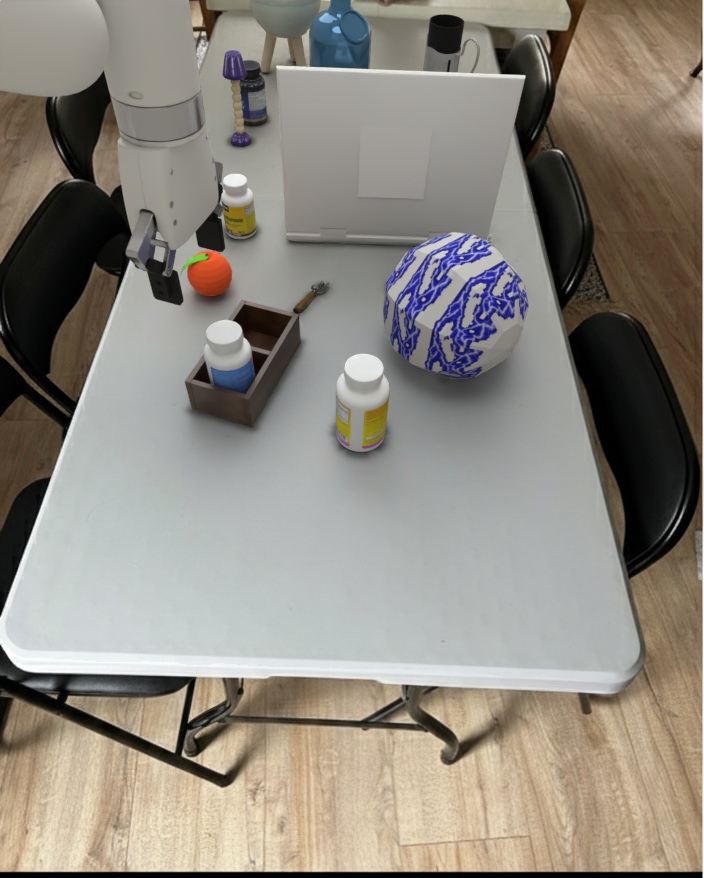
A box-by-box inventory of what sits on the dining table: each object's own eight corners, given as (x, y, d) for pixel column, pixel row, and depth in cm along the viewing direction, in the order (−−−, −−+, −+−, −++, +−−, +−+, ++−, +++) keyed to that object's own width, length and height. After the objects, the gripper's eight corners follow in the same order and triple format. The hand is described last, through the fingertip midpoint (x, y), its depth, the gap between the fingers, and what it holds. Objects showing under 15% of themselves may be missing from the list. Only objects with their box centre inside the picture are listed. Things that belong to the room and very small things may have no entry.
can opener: (298, 315, 97) (297, 310, 96) (286, 309, 98) (286, 303, 97) (333, 286, 102) (333, 281, 101) (321, 281, 102) (321, 275, 101)
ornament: (446, 364, 72) (336, 276, 80) (463, 429, 89) (371, 351, 98) (563, 250, 73) (443, 176, 82) (557, 335, 91) (458, 267, 100)
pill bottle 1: (265, 394, 86) (258, 335, 77) (228, 415, 84) (216, 356, 75) (241, 368, 89) (231, 309, 80) (204, 388, 86) (190, 328, 78)
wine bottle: (298, 98, 142) (293, -66, 118) (345, 84, 147) (348, -76, 123) (334, 122, 136) (335, -46, 112) (381, 106, 141) (392, -58, 117)
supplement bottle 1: (219, 234, 110) (211, 182, 102) (238, 219, 112) (231, 167, 105) (244, 244, 108) (238, 192, 100) (262, 228, 111) (258, 177, 103)
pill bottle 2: (235, 115, 136) (229, 60, 127) (261, 110, 138) (257, 56, 129) (244, 128, 133) (239, 73, 124) (271, 123, 134) (267, 68, 126)
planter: (321, 85, 146) (320, -29, 129) (252, 84, 145) (242, -31, 128) (320, 56, 156) (319, -54, 138) (256, 55, 155) (247, -56, 137)
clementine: (192, 312, 97) (184, 275, 91) (179, 286, 101) (170, 249, 95) (241, 298, 99) (235, 261, 94) (226, 273, 103) (220, 236, 97)
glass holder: (435, 82, 149) (445, 10, 137) (481, 103, 143) (495, 30, 131) (410, 92, 146) (418, 19, 134) (456, 114, 140) (468, 40, 128)
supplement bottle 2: (390, 421, 85) (398, 354, 75) (378, 459, 81) (385, 393, 71) (343, 410, 86) (345, 342, 76) (329, 447, 82) (329, 380, 72)
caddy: (191, 409, 85) (184, 381, 81) (245, 328, 95) (241, 299, 91) (252, 427, 83) (248, 400, 79) (300, 342, 94) (299, 314, 89)
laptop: (469, 171, 125) (500, 8, 102) (485, 251, 109) (526, 78, 86) (296, 165, 124) (289, -1, 102) (286, 244, 108) (275, 69, 86)
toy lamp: (230, 135, 131) (219, 48, 117) (252, 134, 131) (244, 47, 118) (231, 147, 128) (220, 58, 115) (254, 146, 128) (245, 57, 115)
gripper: (170, 64, 59) (197, 223, 73) (62, 147, 49) (117, 314, 63) (242, 79, 58) (256, 237, 72) (147, 167, 48) (184, 333, 61)
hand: (191, 273), depth 67 cm, fingers open, 9 cm apart
